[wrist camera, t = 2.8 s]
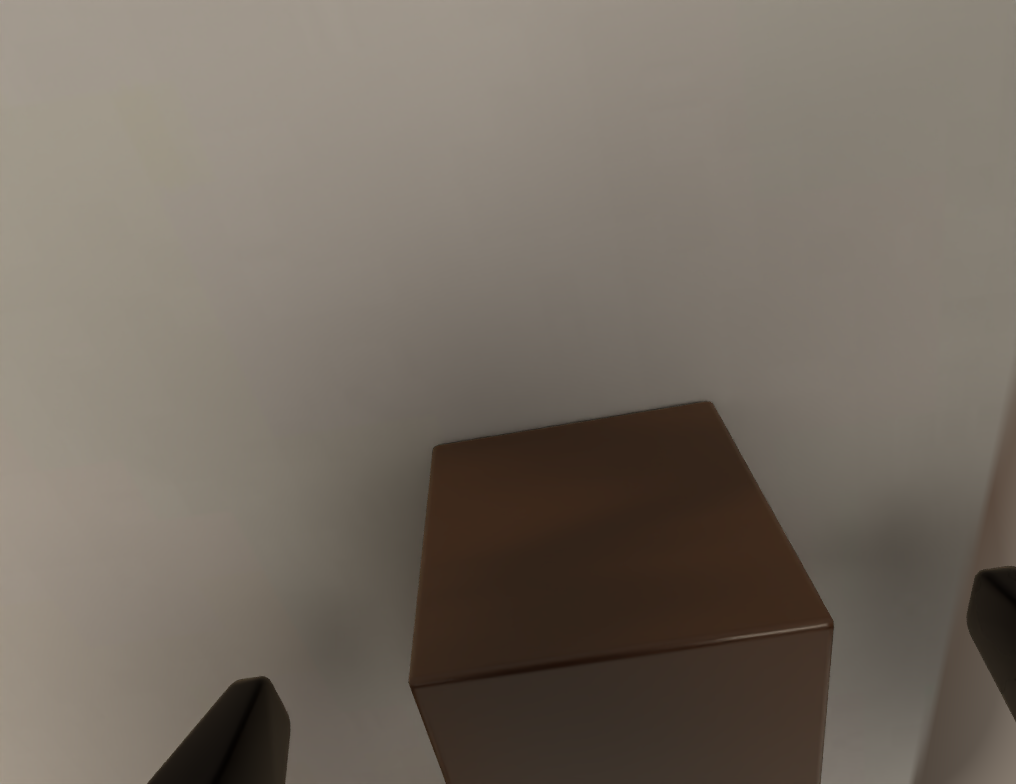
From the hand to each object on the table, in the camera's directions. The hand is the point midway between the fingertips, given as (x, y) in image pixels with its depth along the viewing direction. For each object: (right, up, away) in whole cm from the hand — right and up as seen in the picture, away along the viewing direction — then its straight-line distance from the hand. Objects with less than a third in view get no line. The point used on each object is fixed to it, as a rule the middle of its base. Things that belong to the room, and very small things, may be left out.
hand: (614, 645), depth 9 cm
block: (0, +1, +2) cm, 2 cm away
